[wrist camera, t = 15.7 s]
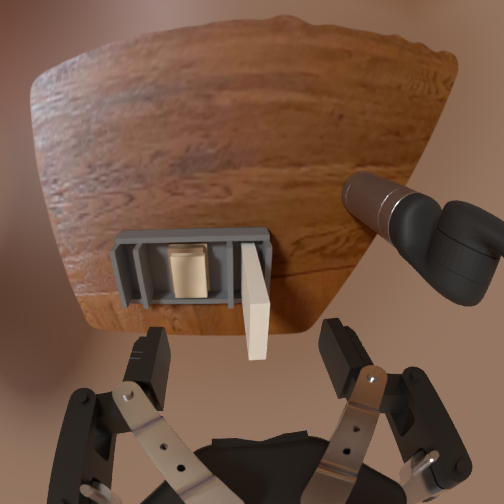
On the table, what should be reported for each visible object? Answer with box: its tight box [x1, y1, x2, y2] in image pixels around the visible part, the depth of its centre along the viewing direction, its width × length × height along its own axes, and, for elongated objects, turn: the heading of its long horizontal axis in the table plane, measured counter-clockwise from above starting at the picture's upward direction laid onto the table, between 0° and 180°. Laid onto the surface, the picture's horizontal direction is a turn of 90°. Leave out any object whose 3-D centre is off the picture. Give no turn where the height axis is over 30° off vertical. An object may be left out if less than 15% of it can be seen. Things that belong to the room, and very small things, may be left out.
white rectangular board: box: [240, 241, 270, 360], centre depth 44 cm, size 2×10×20 cm, turn 179°
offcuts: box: [167, 242, 210, 298], centre depth 50 cm, size 7×10×4 cm
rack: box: [110, 227, 272, 309], centre depth 50 cm, size 28×14×7 cm, turn 89°
